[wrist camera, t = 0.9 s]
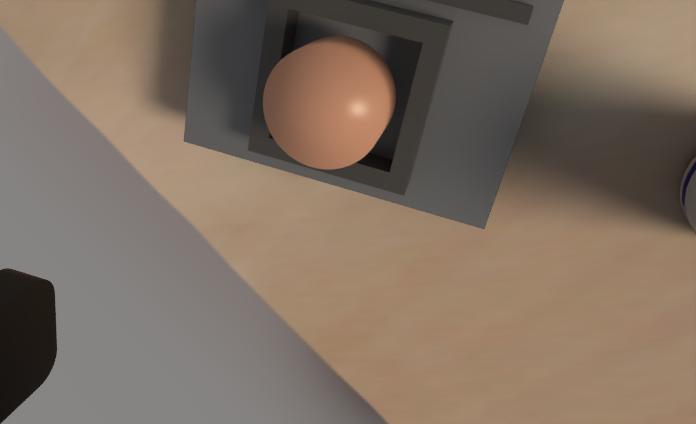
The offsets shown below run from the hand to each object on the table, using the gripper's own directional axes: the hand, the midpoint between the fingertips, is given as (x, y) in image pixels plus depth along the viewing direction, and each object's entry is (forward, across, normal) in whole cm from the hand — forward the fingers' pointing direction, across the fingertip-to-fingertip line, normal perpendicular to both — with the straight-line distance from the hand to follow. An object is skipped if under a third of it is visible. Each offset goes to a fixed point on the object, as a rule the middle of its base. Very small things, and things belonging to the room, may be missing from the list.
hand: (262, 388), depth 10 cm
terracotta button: (+15, +3, -1) cm, 15 cm away
